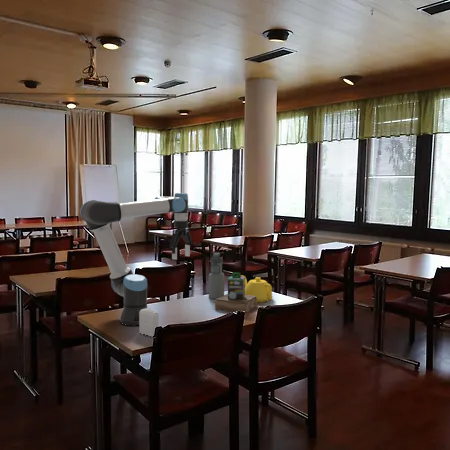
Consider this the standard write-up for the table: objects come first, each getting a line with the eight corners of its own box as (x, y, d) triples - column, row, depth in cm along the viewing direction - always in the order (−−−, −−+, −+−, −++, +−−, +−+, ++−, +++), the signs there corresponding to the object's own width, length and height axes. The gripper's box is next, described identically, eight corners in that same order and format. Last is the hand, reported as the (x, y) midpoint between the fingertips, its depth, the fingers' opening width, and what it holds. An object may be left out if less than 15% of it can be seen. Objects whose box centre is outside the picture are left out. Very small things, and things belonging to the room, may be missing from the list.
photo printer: (137, 333, 215) (137, 308, 214) (144, 331, 219) (144, 306, 218) (153, 338, 209) (153, 311, 208) (160, 336, 213) (160, 309, 212)
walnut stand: (244, 313, 251) (244, 303, 251) (215, 309, 259) (215, 298, 259) (256, 306, 267) (257, 296, 267) (229, 302, 275) (229, 292, 275)
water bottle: (222, 300, 280) (222, 254, 278) (206, 299, 282) (207, 254, 280) (225, 296, 290) (226, 252, 288) (210, 295, 292) (211, 251, 290)
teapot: (231, 297, 287) (232, 276, 286) (250, 293, 300) (250, 272, 298) (262, 305, 270) (263, 282, 268) (281, 300, 282) (281, 278, 281)
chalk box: (245, 296, 267) (245, 270, 265) (243, 300, 257) (244, 273, 256) (229, 295, 268) (229, 270, 266) (227, 299, 259) (227, 273, 257)
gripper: (174, 222, 246) (174, 261, 247) (198, 219, 268) (197, 255, 270) (163, 221, 249) (162, 260, 251) (187, 218, 271) (187, 254, 273)
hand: (181, 257), depth 260 cm, fingers open, 13 cm apart
